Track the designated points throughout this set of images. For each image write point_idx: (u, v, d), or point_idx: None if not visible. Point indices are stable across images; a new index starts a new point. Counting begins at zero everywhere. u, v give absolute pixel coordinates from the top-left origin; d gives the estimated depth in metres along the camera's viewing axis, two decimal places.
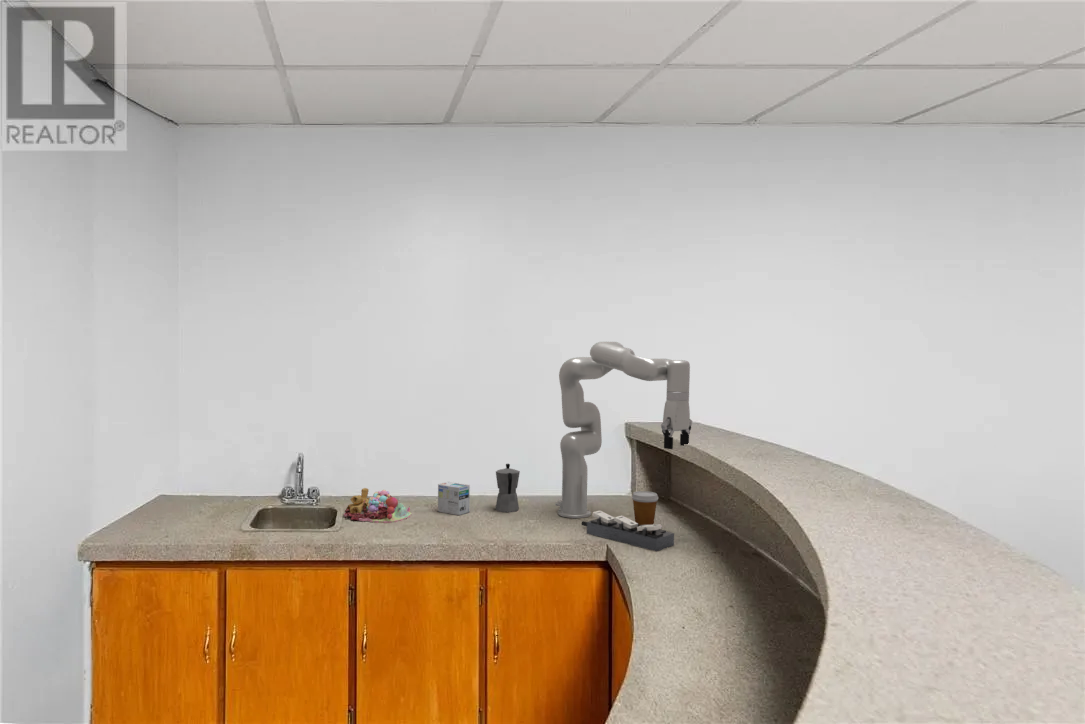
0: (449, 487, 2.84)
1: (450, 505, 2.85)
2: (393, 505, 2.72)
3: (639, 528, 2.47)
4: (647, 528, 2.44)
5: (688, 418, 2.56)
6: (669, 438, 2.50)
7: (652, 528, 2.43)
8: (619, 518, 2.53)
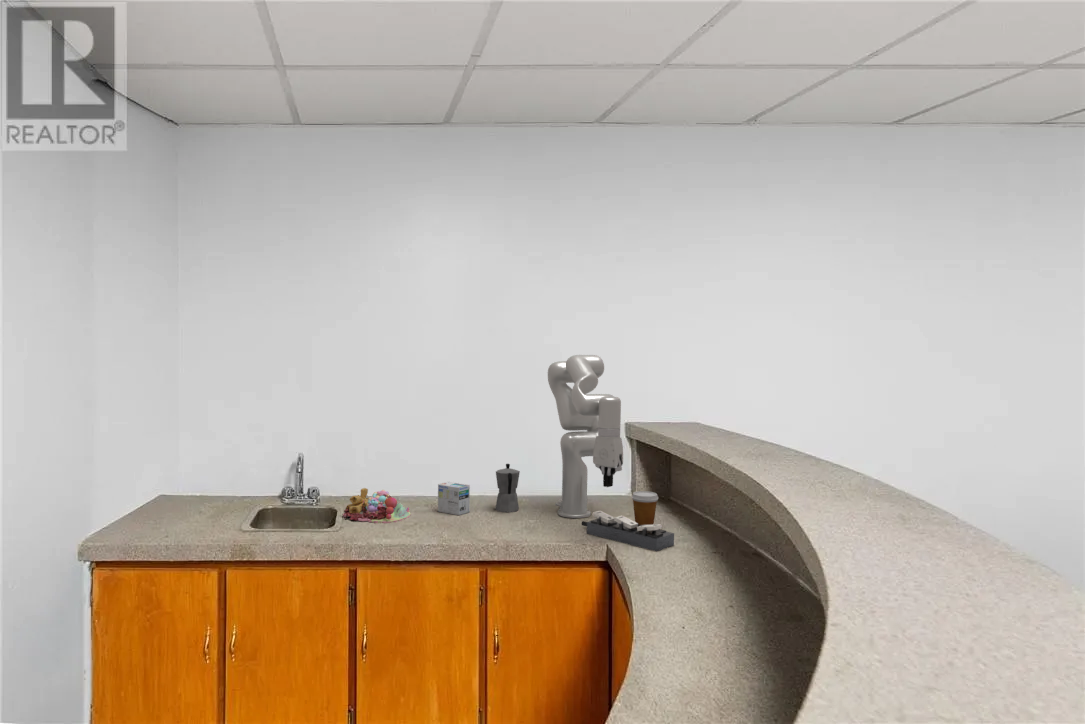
0: (449, 487, 2.85)
1: (450, 505, 2.85)
2: (392, 505, 2.72)
3: (639, 528, 2.47)
4: (647, 528, 2.44)
5: None
6: None
7: (652, 528, 2.43)
8: (619, 518, 2.53)
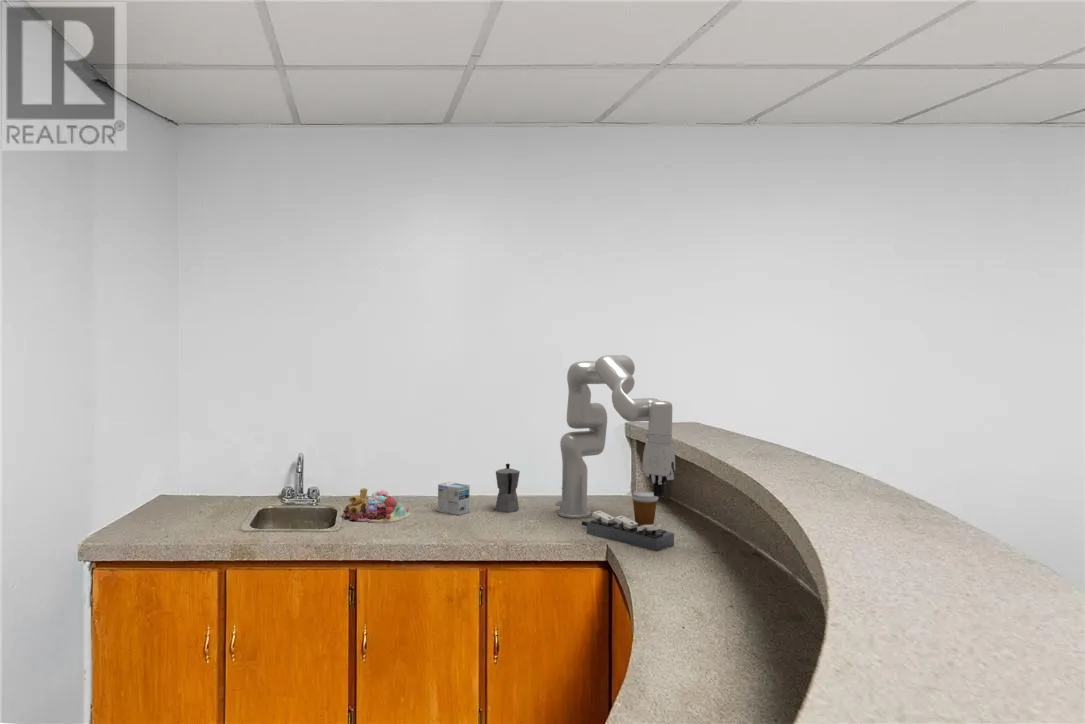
0: (449, 487, 2.84)
1: (450, 505, 2.85)
2: (392, 505, 2.72)
3: (639, 528, 2.47)
4: (647, 528, 2.44)
5: None
6: None
7: (652, 528, 2.43)
8: (619, 518, 2.53)
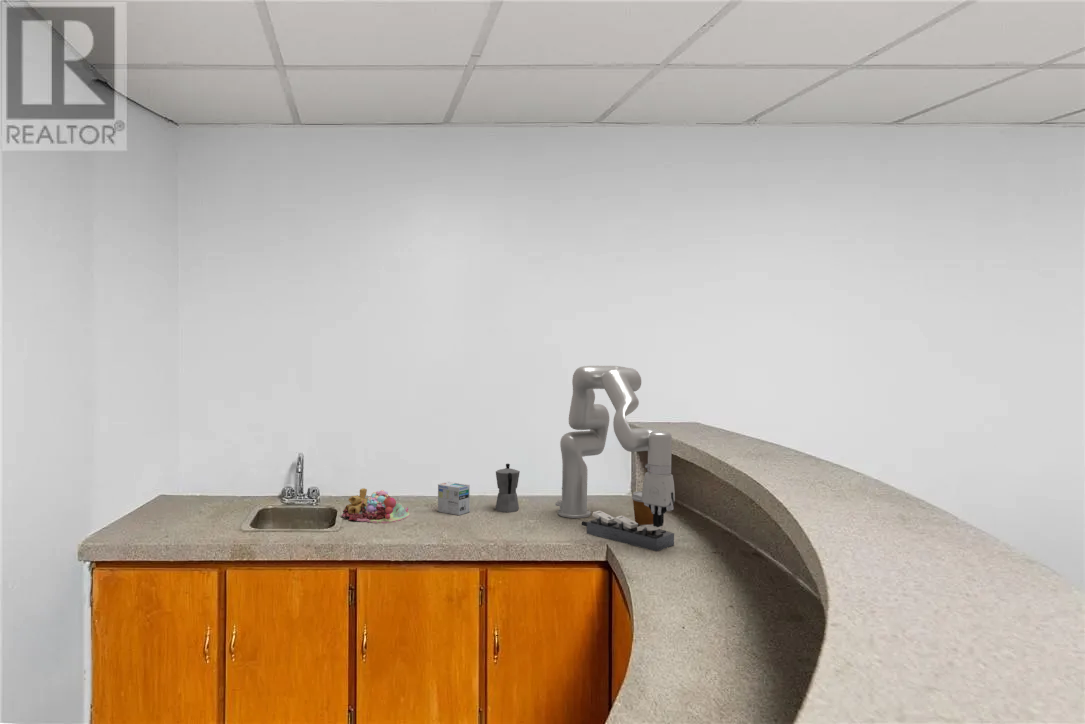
0: (449, 487, 2.85)
1: (450, 505, 2.85)
2: (391, 505, 2.72)
3: (639, 528, 2.47)
4: (647, 528, 2.44)
5: None
6: None
7: (652, 528, 2.43)
8: (619, 518, 2.53)
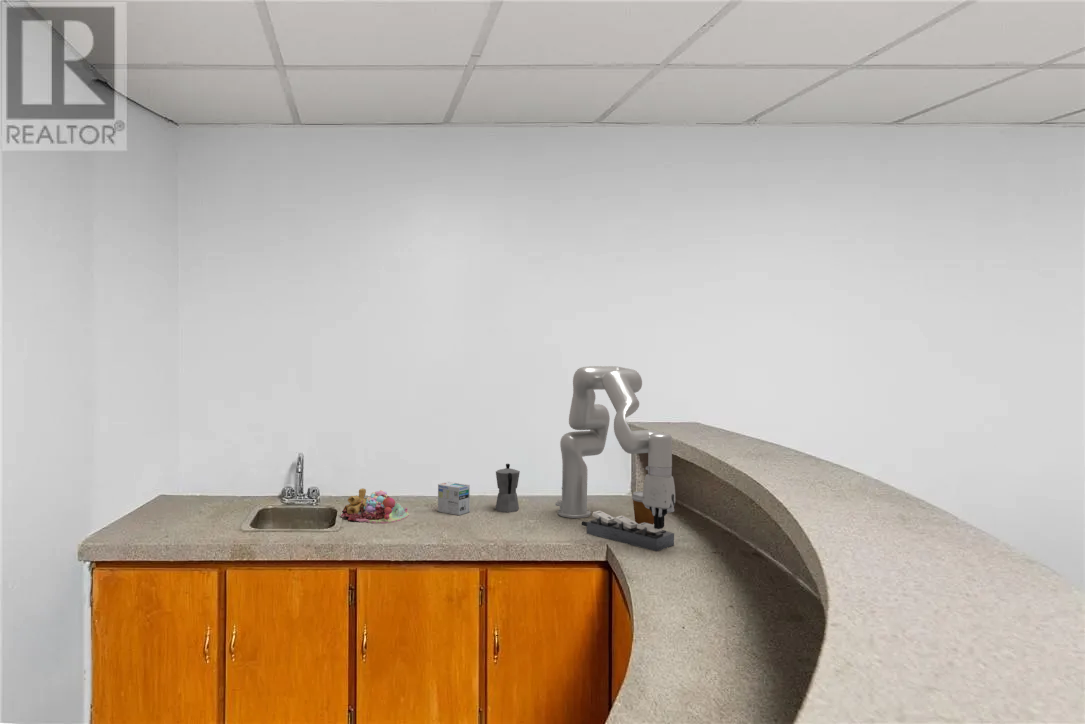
0: (449, 487, 2.85)
1: (450, 505, 2.85)
2: (390, 505, 2.72)
3: (639, 526, 2.47)
4: (647, 529, 2.44)
5: None
6: None
7: (652, 530, 2.43)
8: (619, 518, 2.53)
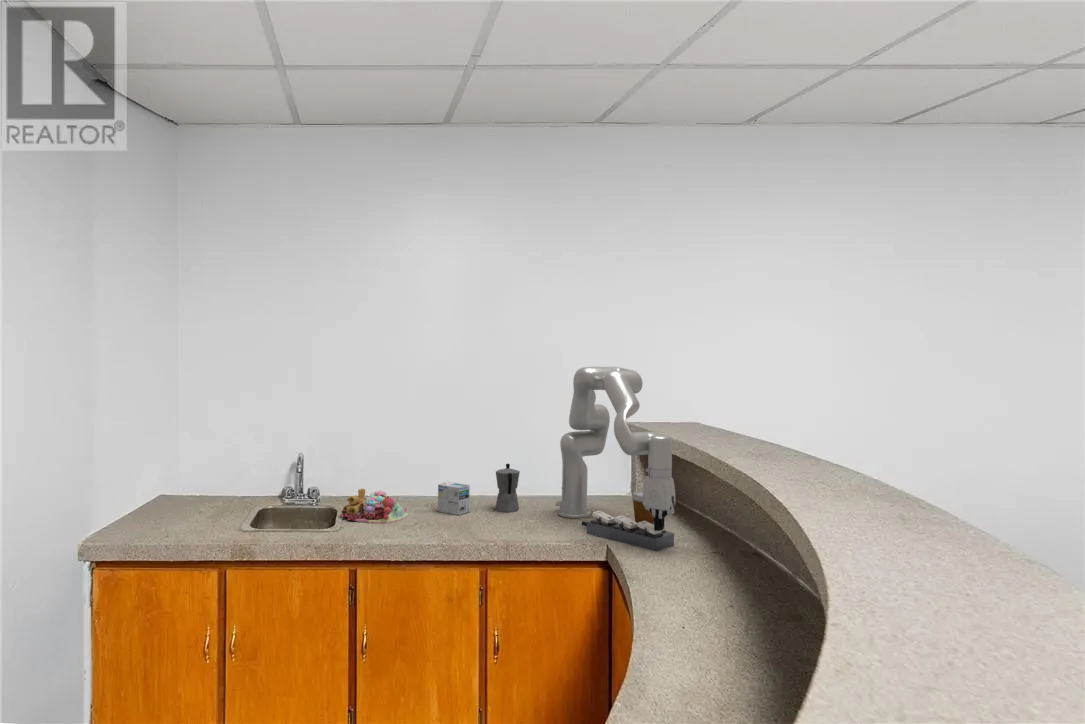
0: (449, 487, 2.85)
1: (450, 505, 2.85)
2: (389, 505, 2.71)
3: (639, 525, 2.47)
4: (647, 529, 2.44)
5: None
6: None
7: (652, 531, 2.43)
8: (619, 518, 2.53)
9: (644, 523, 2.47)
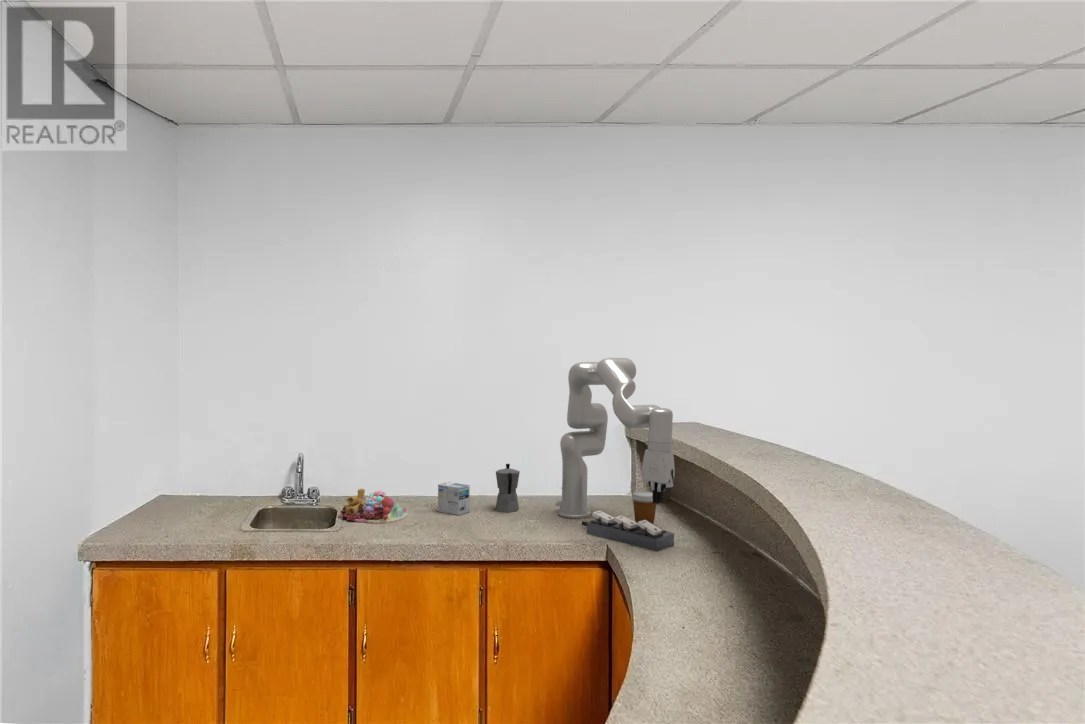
0: (449, 487, 2.85)
1: (450, 505, 2.85)
2: (389, 506, 2.71)
3: (639, 524, 2.46)
4: (647, 529, 2.44)
5: None
6: None
7: (652, 532, 2.43)
8: (619, 518, 2.53)
9: (644, 522, 2.47)
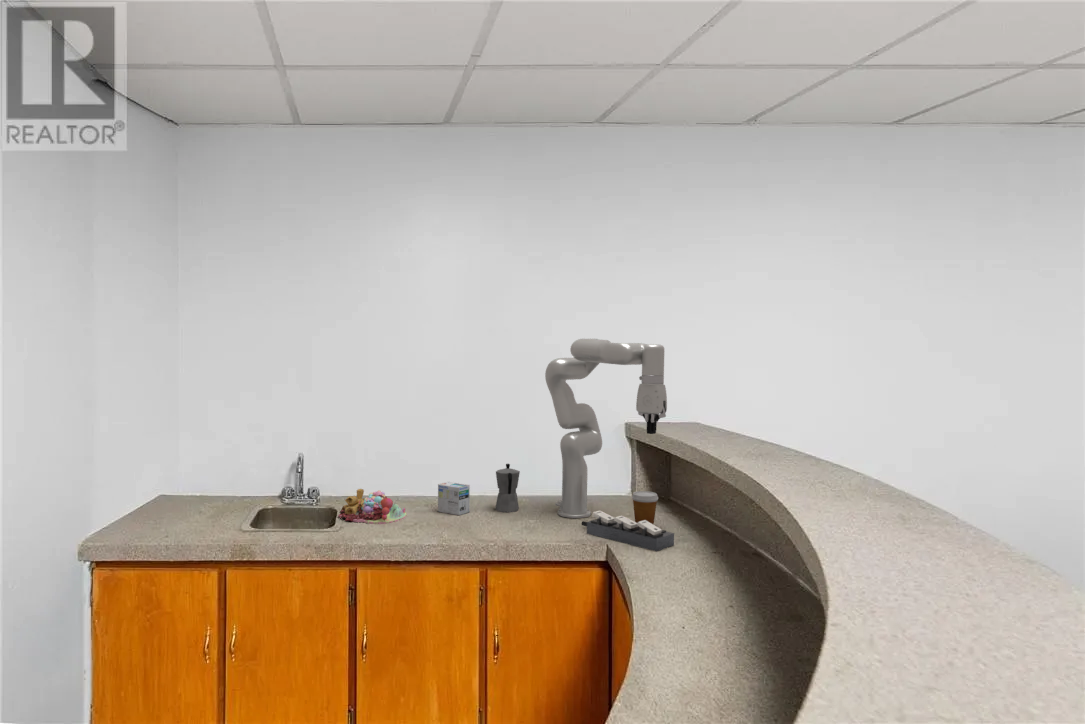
0: (449, 487, 2.85)
1: (450, 505, 2.85)
2: (388, 506, 2.71)
3: (639, 524, 2.47)
4: (647, 529, 2.44)
5: None
6: None
7: (652, 532, 2.43)
8: (619, 518, 2.53)
9: (644, 523, 2.47)
